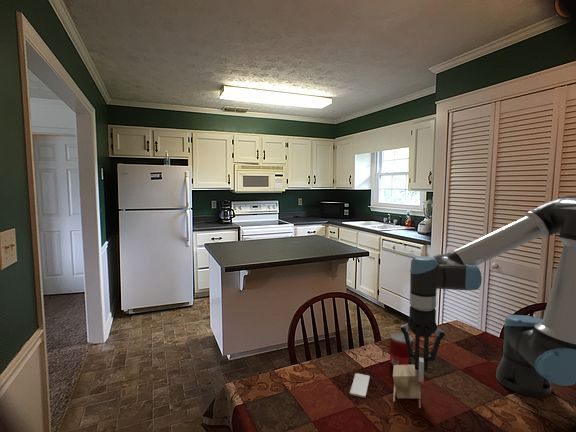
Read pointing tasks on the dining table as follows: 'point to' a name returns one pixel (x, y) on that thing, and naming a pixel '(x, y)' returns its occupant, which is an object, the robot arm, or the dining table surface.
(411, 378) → the tan cube
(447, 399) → the dining table surface
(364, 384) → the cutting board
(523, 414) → the dining table surface
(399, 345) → the canned food
